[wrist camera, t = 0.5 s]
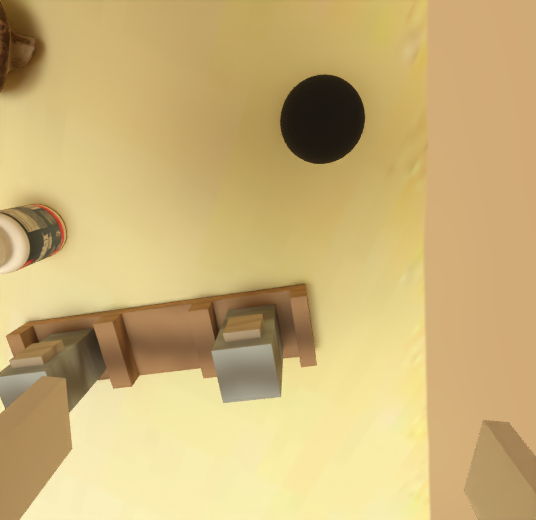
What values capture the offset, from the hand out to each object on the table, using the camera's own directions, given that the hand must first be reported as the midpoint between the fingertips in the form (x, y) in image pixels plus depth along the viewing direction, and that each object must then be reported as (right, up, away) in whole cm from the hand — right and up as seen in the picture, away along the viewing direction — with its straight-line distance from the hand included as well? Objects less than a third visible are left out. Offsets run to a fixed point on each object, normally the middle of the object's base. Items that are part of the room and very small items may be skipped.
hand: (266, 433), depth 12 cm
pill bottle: (-22, +9, +26) cm, 35 cm away
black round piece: (+4, +17, +22) cm, 28 cm away
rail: (-10, -2, +28) cm, 30 cm away
